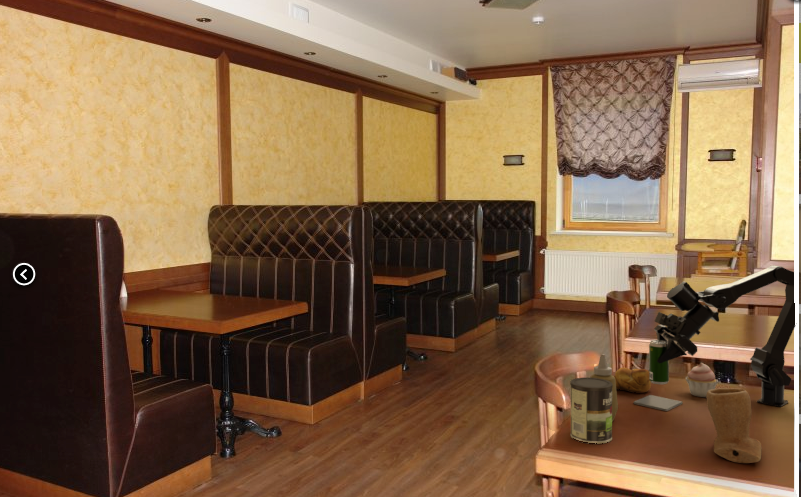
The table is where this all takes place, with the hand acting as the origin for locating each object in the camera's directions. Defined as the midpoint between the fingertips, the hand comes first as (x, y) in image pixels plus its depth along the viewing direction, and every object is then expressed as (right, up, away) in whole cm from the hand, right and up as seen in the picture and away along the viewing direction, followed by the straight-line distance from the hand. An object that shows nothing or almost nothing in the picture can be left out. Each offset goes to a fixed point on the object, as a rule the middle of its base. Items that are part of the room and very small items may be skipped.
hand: (654, 359), depth 192 cm
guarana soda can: (+1, -7, 0) cm, 7 cm away
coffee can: (-26, -15, -25) cm, 39 cm away
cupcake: (+18, -12, +9) cm, 24 cm away
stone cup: (+4, -16, -37) cm, 41 cm away
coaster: (+1, -13, +1) cm, 13 cm away
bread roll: (-1, -12, +16) cm, 20 cm away
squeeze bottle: (-19, -14, -12) cm, 27 cm away
